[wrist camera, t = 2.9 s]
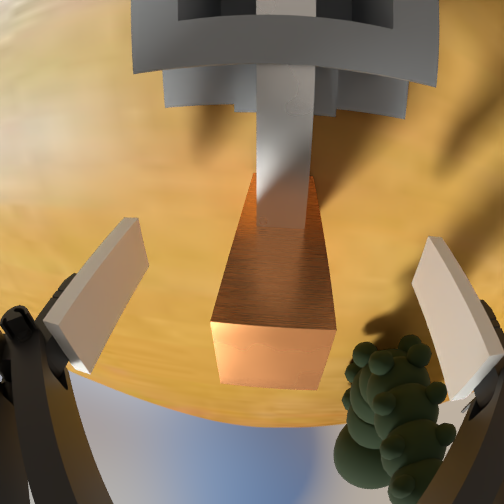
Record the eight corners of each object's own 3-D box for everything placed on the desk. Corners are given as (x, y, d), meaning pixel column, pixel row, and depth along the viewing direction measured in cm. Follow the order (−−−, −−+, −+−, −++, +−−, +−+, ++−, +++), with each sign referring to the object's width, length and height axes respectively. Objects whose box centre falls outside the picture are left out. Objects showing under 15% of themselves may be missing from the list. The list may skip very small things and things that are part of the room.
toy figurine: (325, 297, 23) (333, 432, 35) (329, 558, 7) (329, 556, 19) (435, 281, 21) (399, 423, 33) (516, 504, 5) (409, 544, 17)
